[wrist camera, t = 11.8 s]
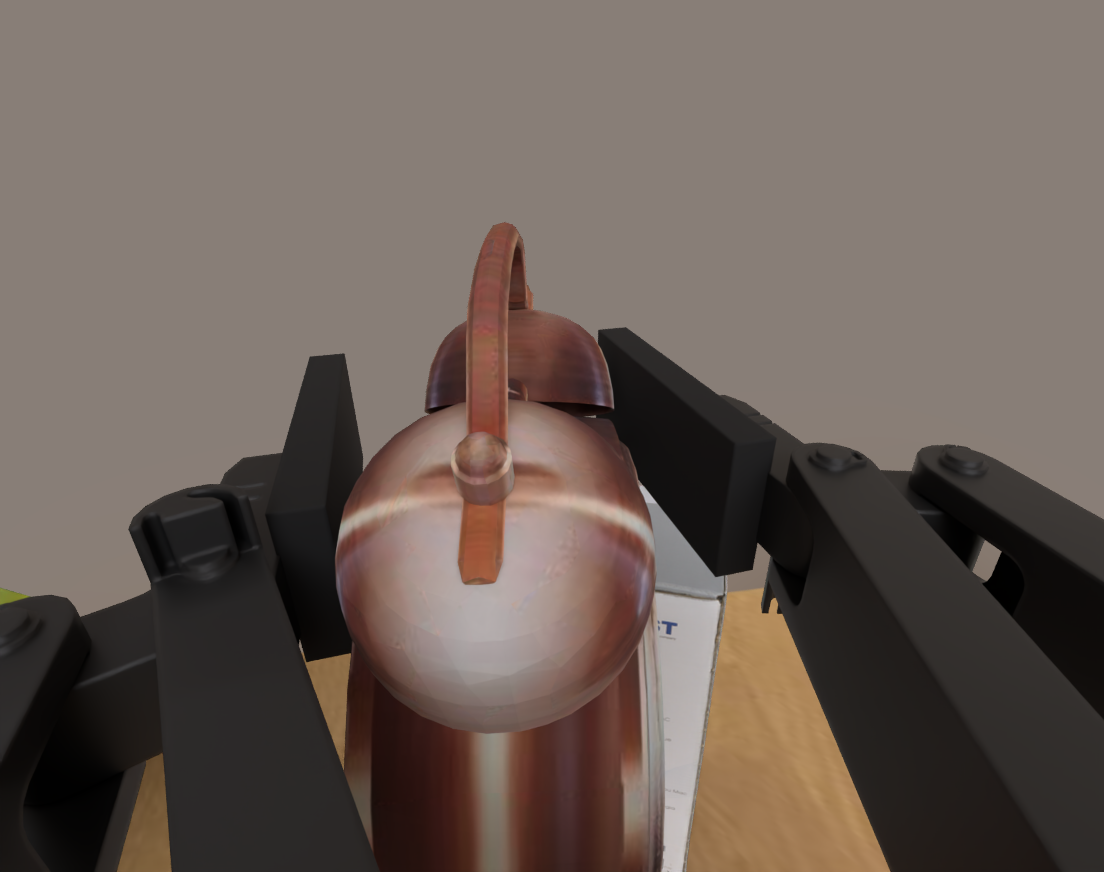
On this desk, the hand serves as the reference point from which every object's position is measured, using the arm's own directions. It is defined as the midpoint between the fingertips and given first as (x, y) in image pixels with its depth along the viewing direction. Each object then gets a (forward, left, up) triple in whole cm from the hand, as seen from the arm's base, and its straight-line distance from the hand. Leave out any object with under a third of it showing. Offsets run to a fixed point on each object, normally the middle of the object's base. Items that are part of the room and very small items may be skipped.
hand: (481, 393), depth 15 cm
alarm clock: (0, -4, -11) cm, 11 cm away
